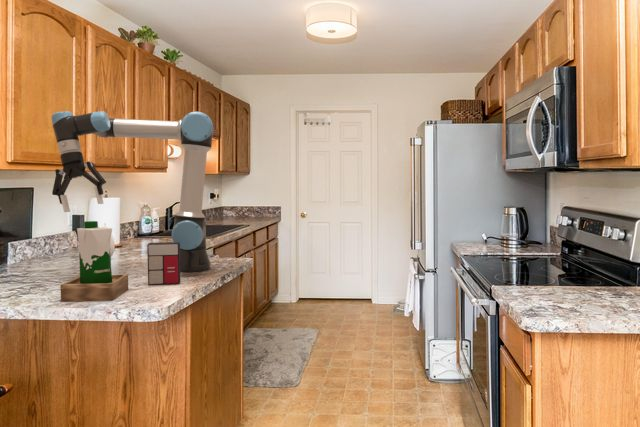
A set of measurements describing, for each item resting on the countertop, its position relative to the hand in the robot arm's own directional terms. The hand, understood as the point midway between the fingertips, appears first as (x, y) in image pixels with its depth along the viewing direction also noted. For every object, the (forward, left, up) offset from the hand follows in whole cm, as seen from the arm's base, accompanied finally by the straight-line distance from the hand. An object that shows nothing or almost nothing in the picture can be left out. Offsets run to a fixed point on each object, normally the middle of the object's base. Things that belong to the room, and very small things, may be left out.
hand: (84, 207), depth 176 cm
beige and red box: (-32, +11, -28) cm, 43 cm away
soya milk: (-14, +27, -23) cm, 39 cm away
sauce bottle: (+9, -49, -27) cm, 57 cm away
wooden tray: (-14, +27, -27) cm, 41 cm away
